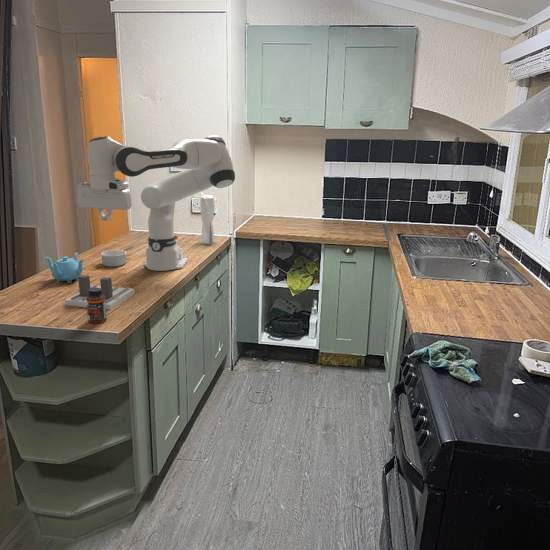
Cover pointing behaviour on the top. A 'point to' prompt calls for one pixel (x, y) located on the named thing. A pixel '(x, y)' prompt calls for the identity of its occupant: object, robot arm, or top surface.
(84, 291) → the switch tab
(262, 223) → the top surface
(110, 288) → the switch tab
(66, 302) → the white board with strips
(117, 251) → the saucepan
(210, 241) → the skyscraper
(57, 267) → the teapot
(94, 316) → the supplement bottle
